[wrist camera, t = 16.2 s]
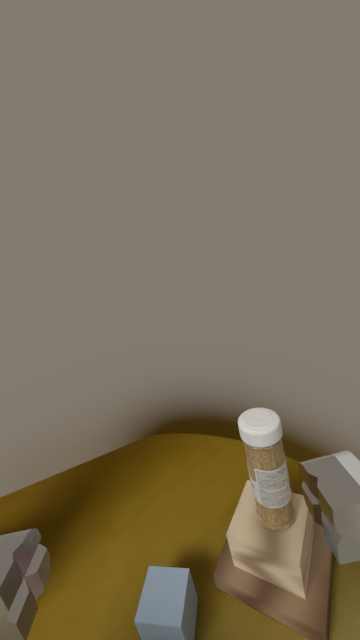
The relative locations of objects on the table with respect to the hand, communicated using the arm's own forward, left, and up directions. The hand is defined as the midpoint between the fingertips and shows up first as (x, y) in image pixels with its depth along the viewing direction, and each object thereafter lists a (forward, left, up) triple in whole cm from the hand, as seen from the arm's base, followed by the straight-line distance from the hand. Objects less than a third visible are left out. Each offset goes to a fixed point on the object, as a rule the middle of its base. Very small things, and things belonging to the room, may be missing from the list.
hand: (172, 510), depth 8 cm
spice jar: (-5, +20, -25) cm, 32 cm away
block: (-14, +8, -32) cm, 36 cm away
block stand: (-5, +19, -32) cm, 38 cm away
